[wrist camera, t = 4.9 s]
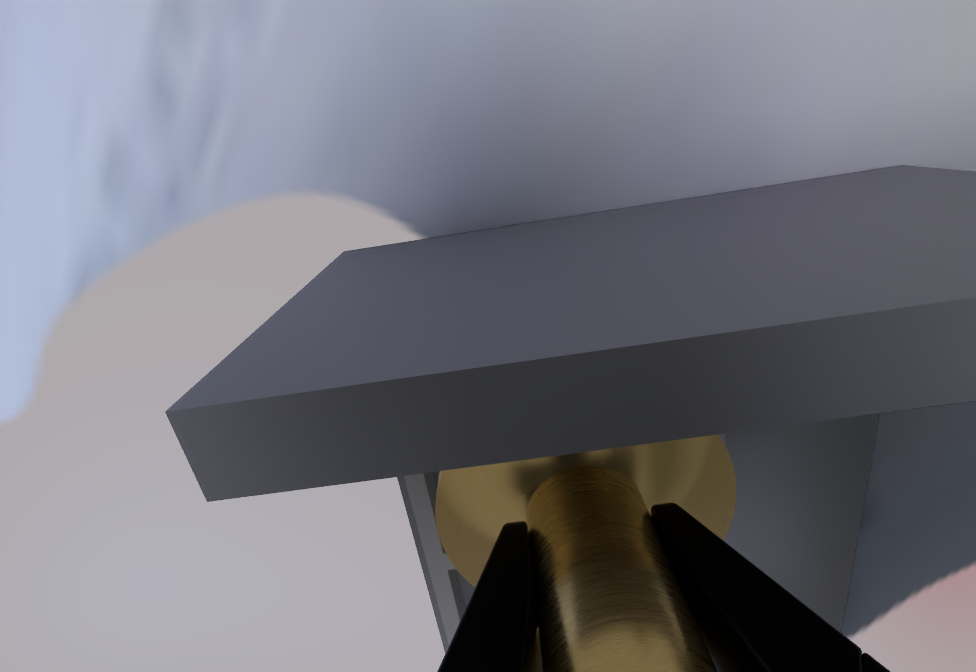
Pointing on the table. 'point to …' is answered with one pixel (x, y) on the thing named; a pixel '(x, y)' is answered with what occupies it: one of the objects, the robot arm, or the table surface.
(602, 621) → the brass door knob
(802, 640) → the robot arm
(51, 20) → the table surface
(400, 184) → the table surface
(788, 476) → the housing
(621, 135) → the table surface
